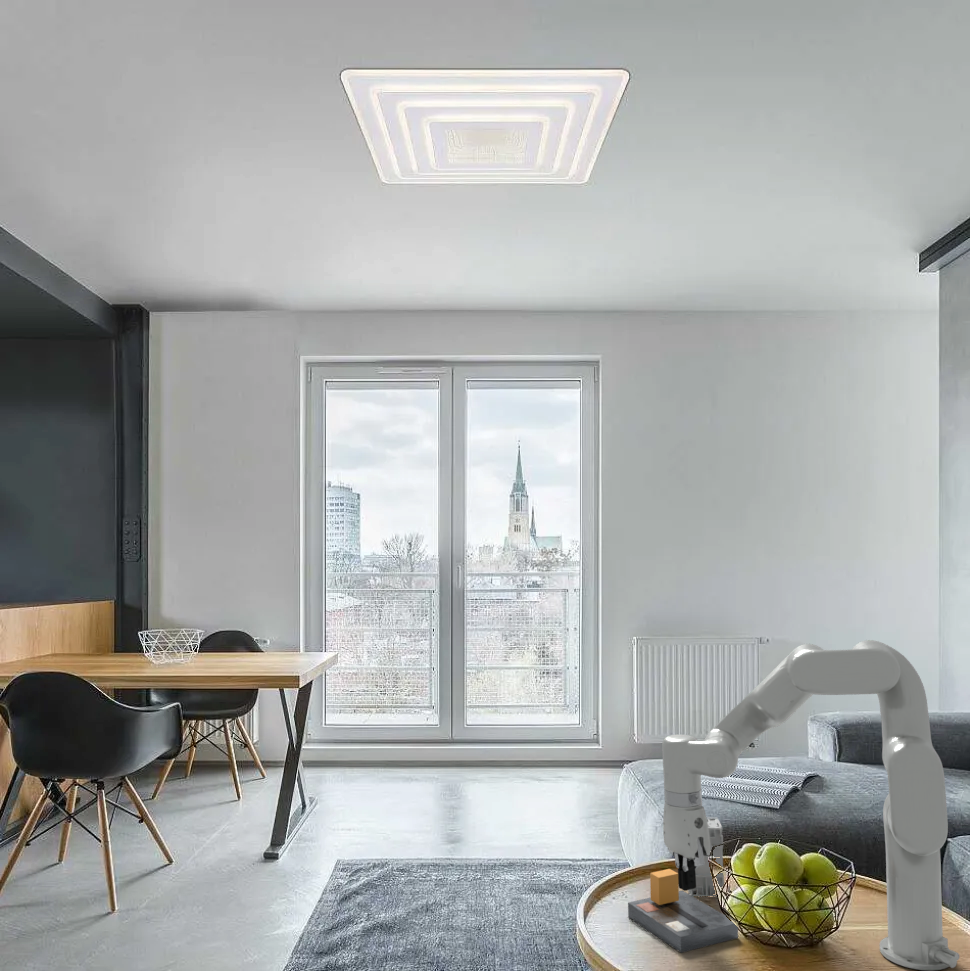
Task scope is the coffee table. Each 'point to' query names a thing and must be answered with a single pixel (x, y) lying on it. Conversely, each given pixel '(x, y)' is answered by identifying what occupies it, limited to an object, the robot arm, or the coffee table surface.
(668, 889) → the block
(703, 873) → the circuit breaker
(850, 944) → the coffee table surface
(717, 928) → the panel
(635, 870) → the coffee table surface
